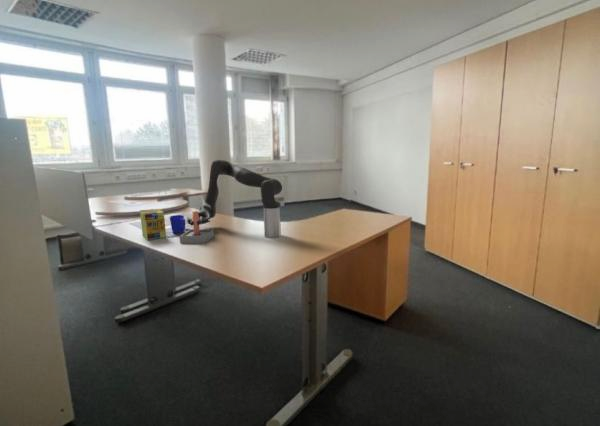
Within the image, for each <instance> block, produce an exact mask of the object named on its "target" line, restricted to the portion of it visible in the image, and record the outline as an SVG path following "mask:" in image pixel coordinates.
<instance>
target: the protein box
mask: <svg viewBox="0 0 600 426" xmlns="http://www.w3.org/2000/svg"><path fill="white" fill-rule="evenodd" d="M139 215H140V223H141V232H142V236H143V238H145V239H146V240H147V241H154V240H159V239H166V238H167V230H166V221H165V220H166V219H165V212H164V211H162V210H161V209H159V208H151V209H143V210H141V209H140V210H139Z"/></svg>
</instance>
